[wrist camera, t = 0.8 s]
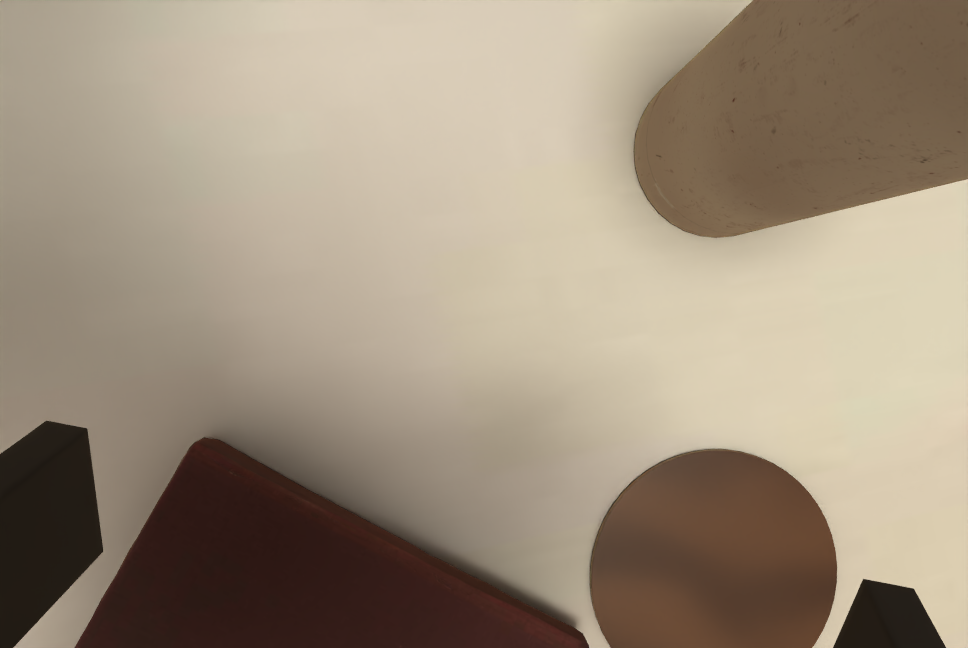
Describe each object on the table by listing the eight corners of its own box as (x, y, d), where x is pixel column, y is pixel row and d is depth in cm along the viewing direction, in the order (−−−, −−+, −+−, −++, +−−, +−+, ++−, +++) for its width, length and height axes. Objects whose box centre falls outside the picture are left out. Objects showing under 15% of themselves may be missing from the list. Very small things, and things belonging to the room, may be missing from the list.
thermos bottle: (740, 36, 34) (2235, -1290, 6) (828, 179, 34) (2612, -408, 6) (601, 127, 33) (1479, -822, 5) (692, 270, 34) (1939, 83, 6)
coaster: (584, 457, 34) (585, 458, 33) (829, 441, 34) (832, 442, 34) (595, 708, 34) (597, 712, 34) (838, 686, 35) (841, 689, 34)
